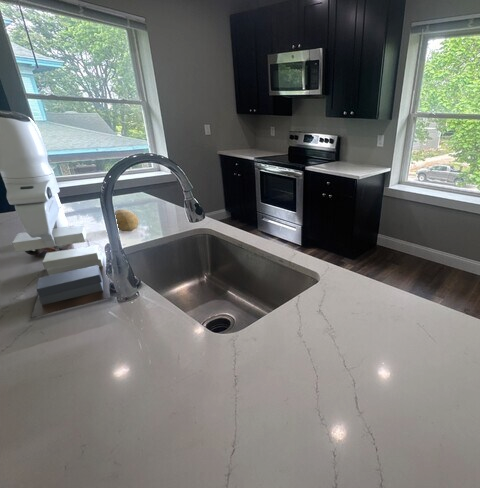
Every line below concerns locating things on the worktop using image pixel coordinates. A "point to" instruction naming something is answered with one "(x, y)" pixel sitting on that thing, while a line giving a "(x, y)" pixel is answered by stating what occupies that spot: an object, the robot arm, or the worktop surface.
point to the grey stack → (69, 284)
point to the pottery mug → (50, 249)
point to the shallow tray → (74, 301)
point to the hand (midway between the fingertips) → (53, 240)
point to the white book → (59, 234)
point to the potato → (126, 220)
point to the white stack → (72, 259)
